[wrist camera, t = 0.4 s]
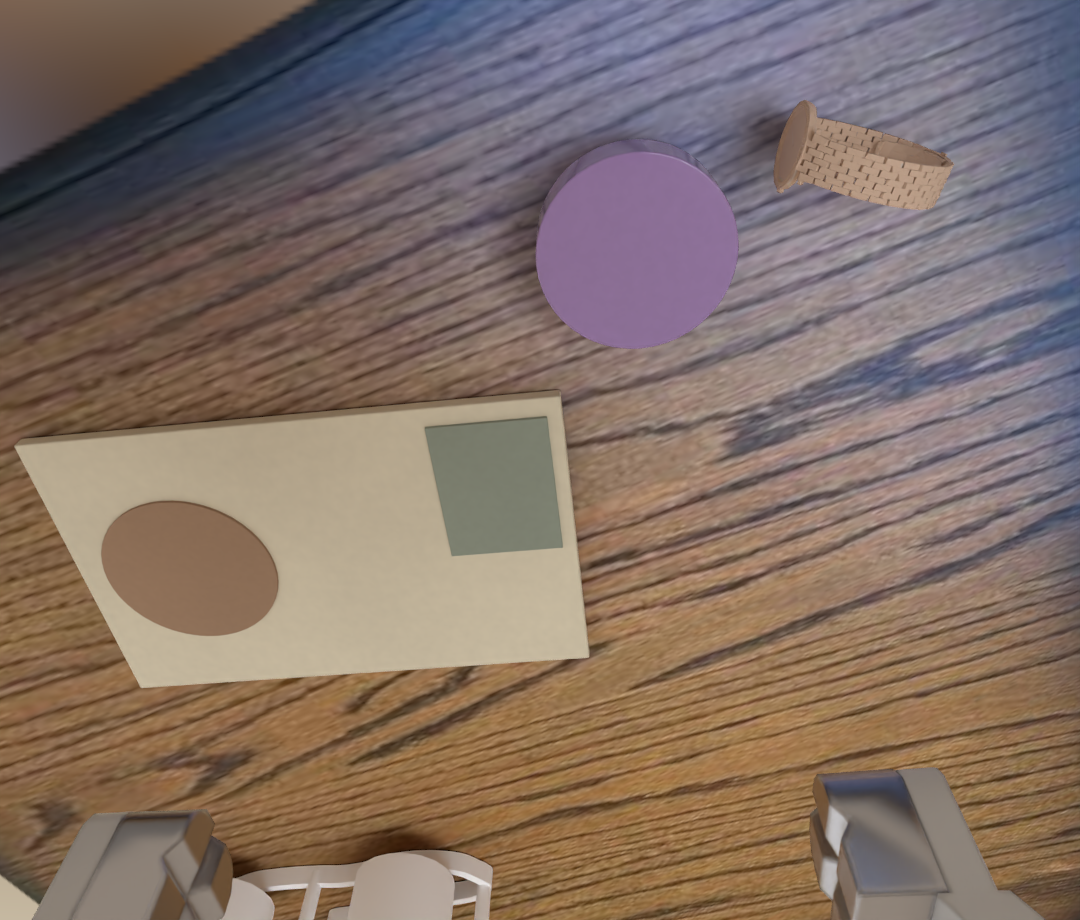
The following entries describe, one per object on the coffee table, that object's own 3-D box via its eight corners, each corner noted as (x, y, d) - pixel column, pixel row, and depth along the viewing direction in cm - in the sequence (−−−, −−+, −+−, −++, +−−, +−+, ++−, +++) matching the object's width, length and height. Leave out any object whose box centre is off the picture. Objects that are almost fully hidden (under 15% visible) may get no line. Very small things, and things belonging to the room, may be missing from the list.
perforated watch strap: (785, 86, 27) (828, 116, 22) (927, 118, 27) (995, 154, 23) (757, 171, 28) (792, 215, 24) (891, 201, 28) (950, 248, 24)
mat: (21, 438, 34) (10, 447, 33) (560, 388, 32) (560, 398, 32) (145, 679, 42) (139, 690, 41) (589, 648, 40) (589, 660, 39)
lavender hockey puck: (527, 142, 28) (523, 164, 25) (723, 120, 27) (740, 139, 25) (547, 322, 31) (546, 357, 28) (722, 305, 31) (737, 339, 28)
